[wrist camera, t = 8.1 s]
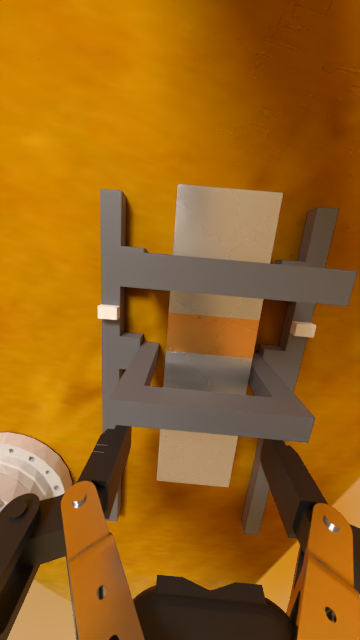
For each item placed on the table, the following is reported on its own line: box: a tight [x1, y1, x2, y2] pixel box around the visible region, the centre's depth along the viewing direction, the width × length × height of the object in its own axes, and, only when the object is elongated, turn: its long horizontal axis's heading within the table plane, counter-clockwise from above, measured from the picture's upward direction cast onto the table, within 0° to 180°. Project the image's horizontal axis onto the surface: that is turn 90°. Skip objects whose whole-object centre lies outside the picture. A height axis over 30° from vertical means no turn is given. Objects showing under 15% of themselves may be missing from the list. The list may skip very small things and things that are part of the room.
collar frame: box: [98, 189, 358, 535], centre depth 12 cm, size 26×14×7 cm, turn 175°
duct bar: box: [157, 184, 283, 487], centre depth 13 cm, size 16×4×4 cm, turn 175°
